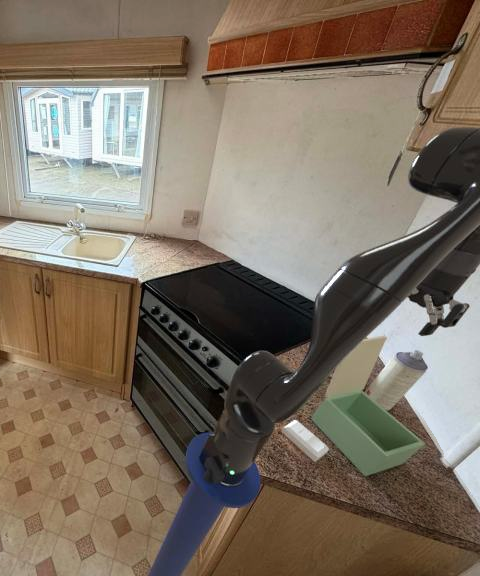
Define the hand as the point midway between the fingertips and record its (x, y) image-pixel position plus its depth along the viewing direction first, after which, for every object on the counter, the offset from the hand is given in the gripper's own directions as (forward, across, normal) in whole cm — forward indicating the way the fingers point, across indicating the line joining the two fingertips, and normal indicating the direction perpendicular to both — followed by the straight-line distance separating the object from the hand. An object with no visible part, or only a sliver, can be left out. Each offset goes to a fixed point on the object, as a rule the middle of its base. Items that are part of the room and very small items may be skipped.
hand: (403, 323), depth 76 cm
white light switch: (+29, +9, -24) cm, 39 cm away
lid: (+11, +2, -10) cm, 15 cm away
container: (+29, +11, -10) cm, 32 cm away
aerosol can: (+29, +3, +9) cm, 31 cm away
